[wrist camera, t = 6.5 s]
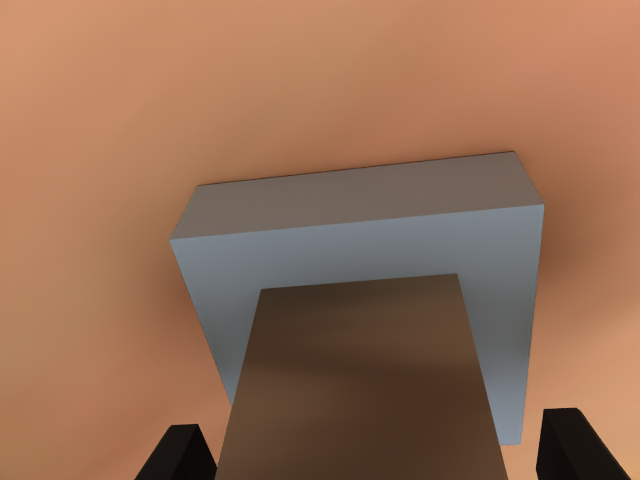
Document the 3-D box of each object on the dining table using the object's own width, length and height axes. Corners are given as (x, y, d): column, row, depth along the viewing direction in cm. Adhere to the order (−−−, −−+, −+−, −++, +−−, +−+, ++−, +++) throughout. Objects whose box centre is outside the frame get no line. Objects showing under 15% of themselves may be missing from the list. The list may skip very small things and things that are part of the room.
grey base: (262, 388, 18) (249, 453, 16) (197, 185, 14) (168, 239, 12) (501, 376, 17) (520, 444, 15) (514, 151, 13) (544, 204, 11)
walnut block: (295, 411, 15) (262, 677, 10) (261, 289, 12) (194, 563, 7) (458, 403, 14) (511, 684, 9) (457, 273, 12) (528, 561, 7)
